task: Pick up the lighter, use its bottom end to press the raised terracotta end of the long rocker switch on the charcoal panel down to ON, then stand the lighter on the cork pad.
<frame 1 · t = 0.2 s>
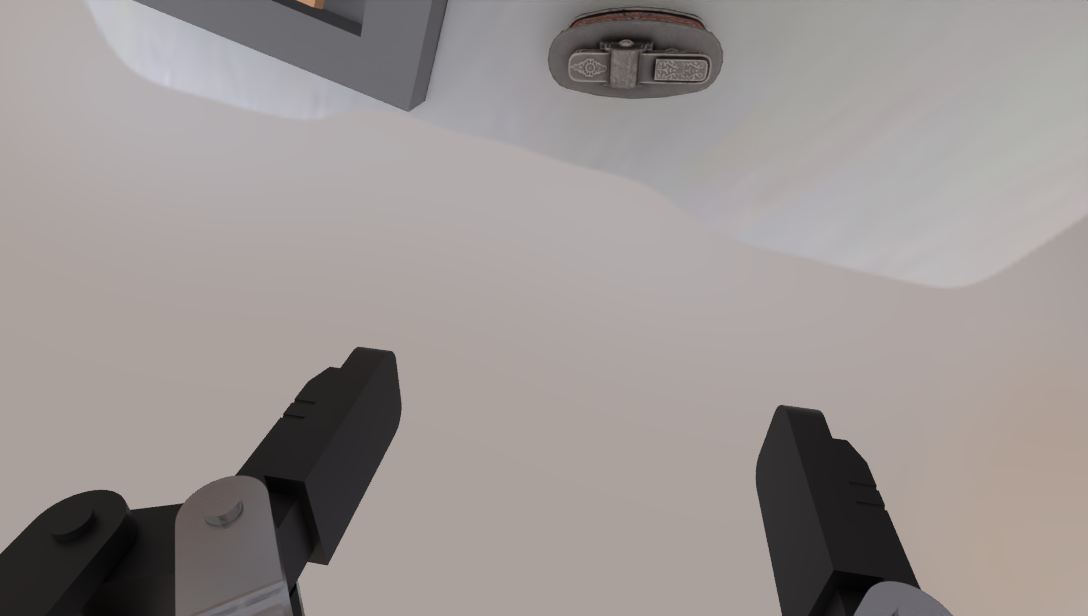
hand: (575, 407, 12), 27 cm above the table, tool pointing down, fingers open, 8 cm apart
lighter: (635, 39, 33), on the table
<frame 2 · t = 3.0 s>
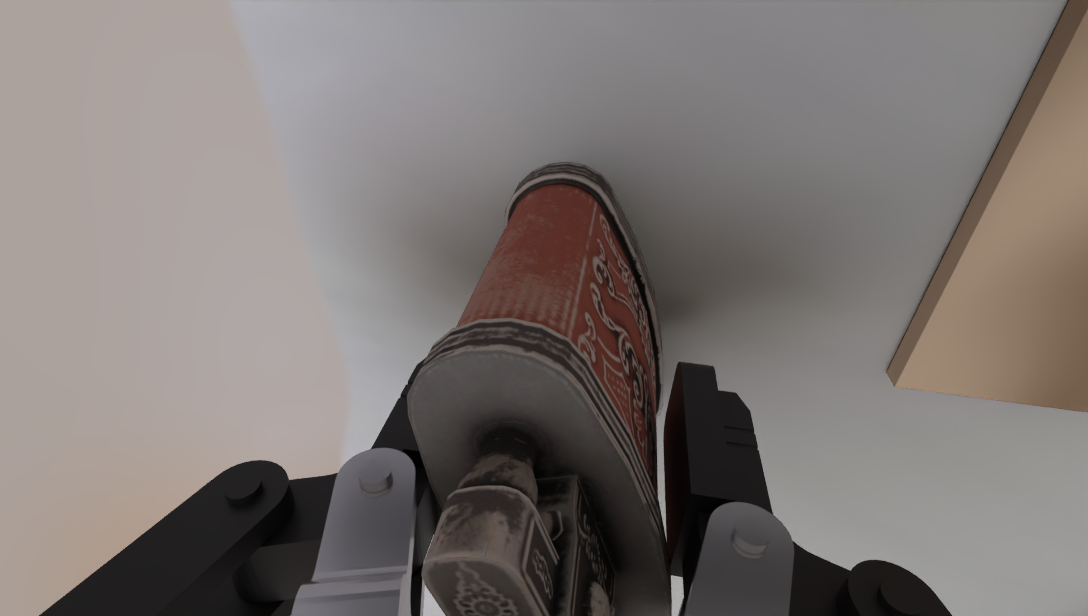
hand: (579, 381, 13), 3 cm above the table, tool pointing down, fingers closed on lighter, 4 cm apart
lighter: (592, 300, 16), on the table, touching gripper
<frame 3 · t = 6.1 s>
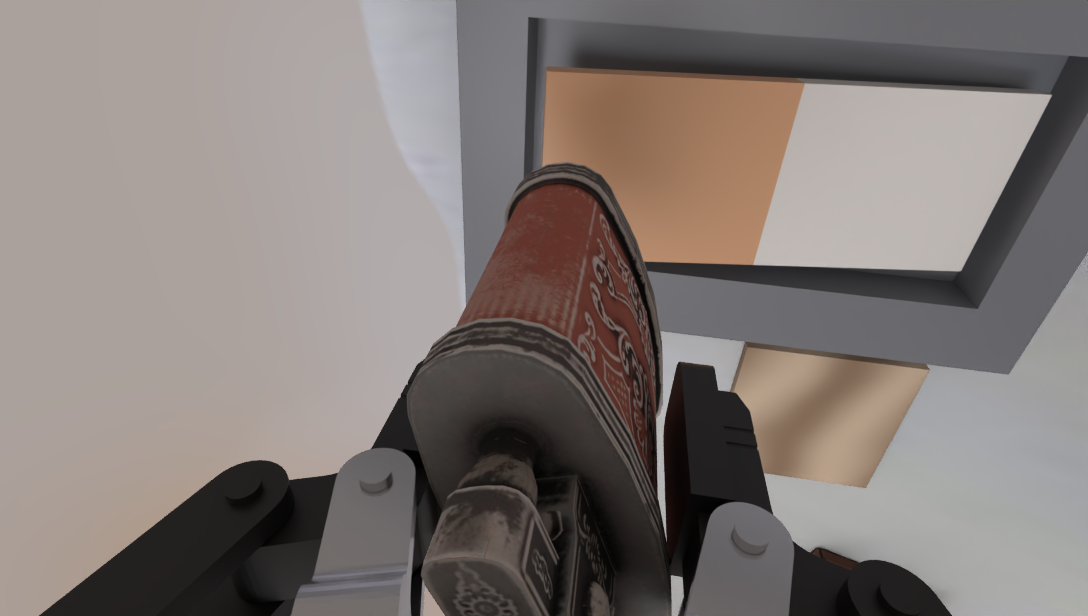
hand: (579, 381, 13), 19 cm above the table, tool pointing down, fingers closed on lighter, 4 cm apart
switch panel: (758, 153, 27), on the table
rocker: (772, 178, 24), point 3 cm above the table, hinge at -10.0°
lighter: (592, 300, 16), point 15 cm above the table, touching gripper
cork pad: (808, 415, 35), on the table
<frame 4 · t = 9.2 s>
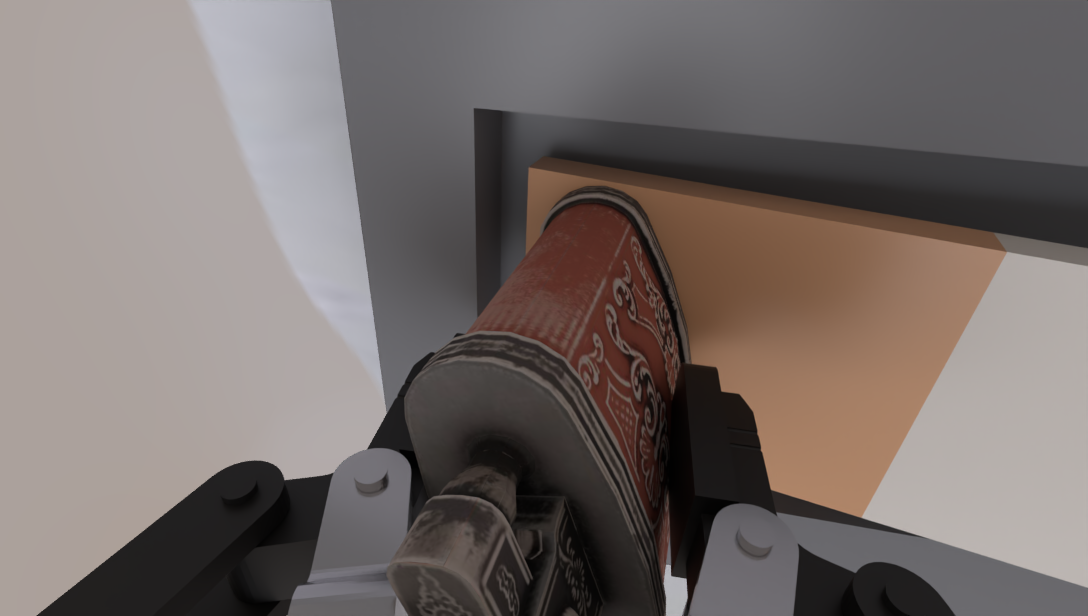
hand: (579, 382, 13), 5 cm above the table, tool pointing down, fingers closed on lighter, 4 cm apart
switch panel: (873, 315, 16), on the table
rocker: (918, 393, 13), point 4 cm above the table, hinge at 11.0°, touching lighter
lighter: (626, 322, 15), point 2 cm above the table, touching gripper, rocker
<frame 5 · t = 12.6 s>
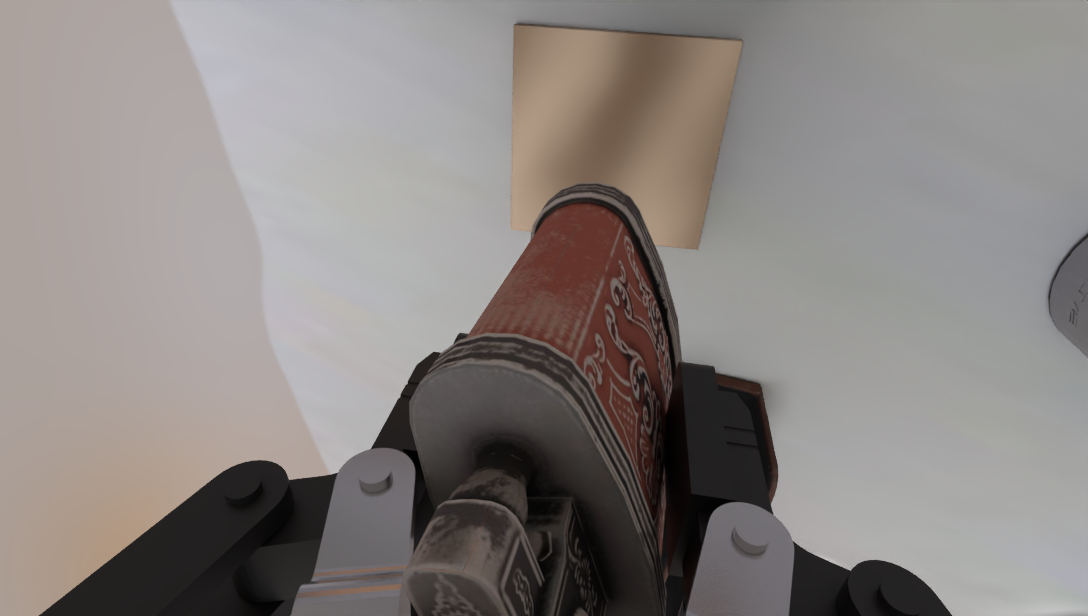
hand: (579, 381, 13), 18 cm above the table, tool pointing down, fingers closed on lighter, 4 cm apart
letter holder: (639, 466, 40), on the table
lighter: (615, 320, 15), point 15 cm above the table, touching gripper
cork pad: (613, 142, 28), on the table
when the fingers open (4 cm above the table, at t = 15.4 s): lighter stays where it is, resting on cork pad.
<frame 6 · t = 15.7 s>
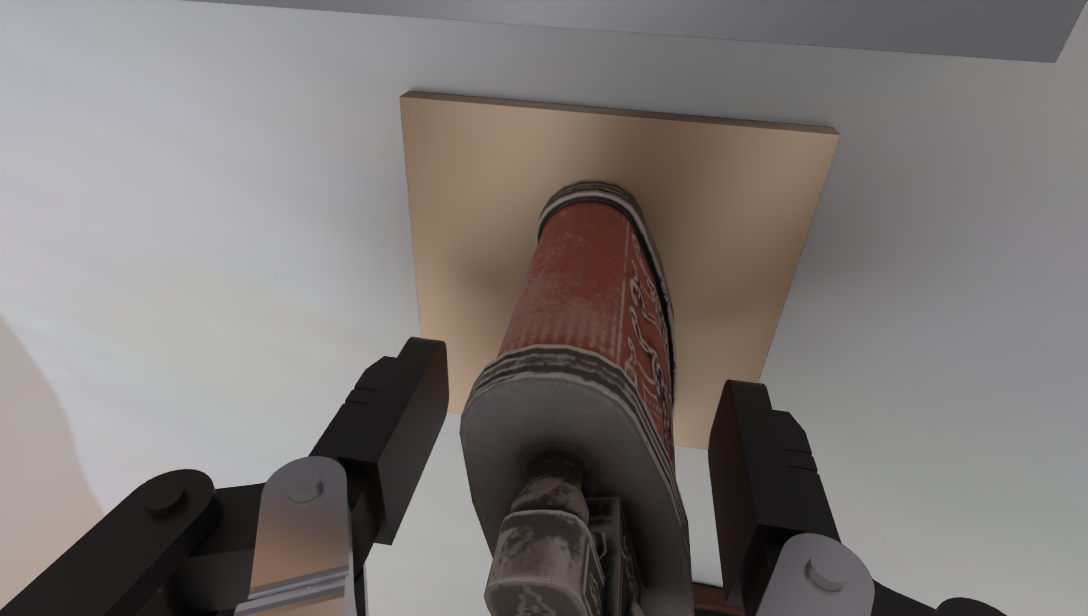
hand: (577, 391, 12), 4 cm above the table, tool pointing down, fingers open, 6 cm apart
lighter: (612, 313, 16), resting on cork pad
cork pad: (592, 289, 16), on the table
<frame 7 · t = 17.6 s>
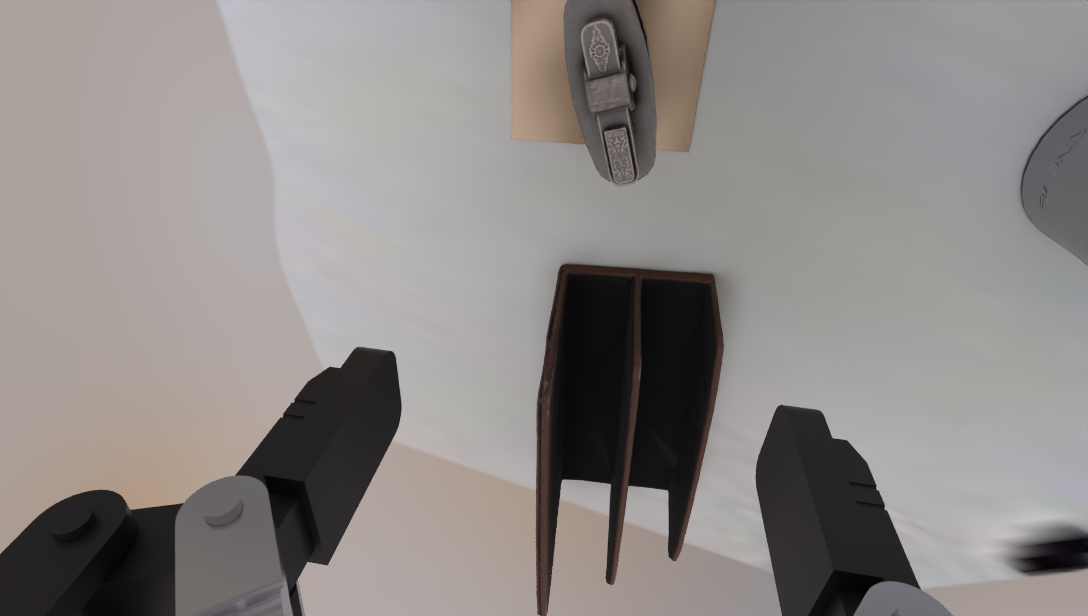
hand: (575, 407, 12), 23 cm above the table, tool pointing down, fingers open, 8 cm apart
letter holder: (624, 381, 42), on the table
lighter: (618, 58, 29), resting on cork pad
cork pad: (607, 47, 30), on the table
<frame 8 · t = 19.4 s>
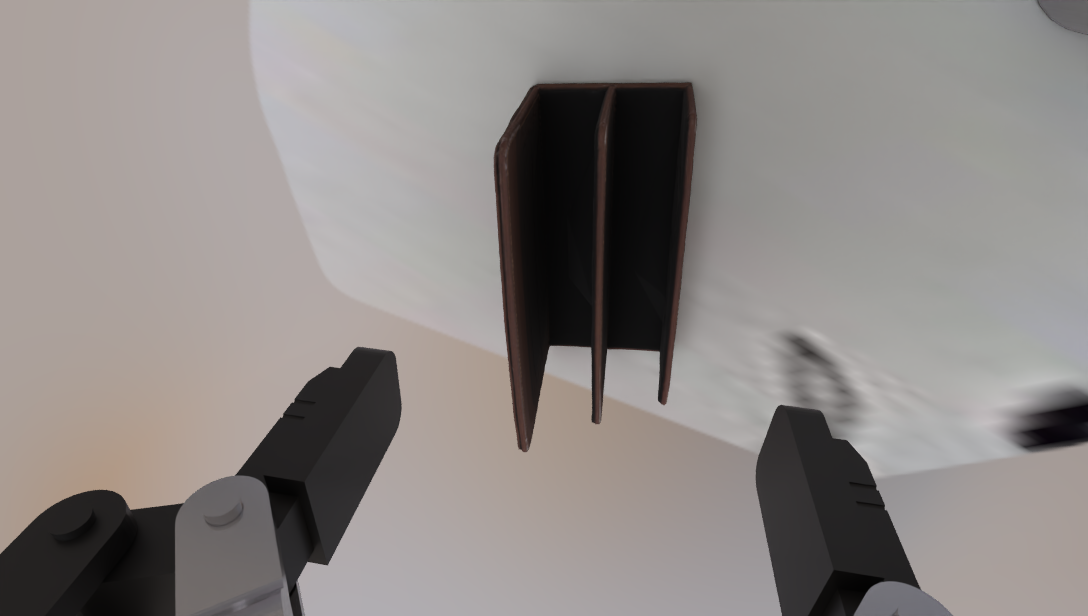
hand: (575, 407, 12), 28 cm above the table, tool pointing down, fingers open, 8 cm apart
letter holder: (607, 226, 40), on the table
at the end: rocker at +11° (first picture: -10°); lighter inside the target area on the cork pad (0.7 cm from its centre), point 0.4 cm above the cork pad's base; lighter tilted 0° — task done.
